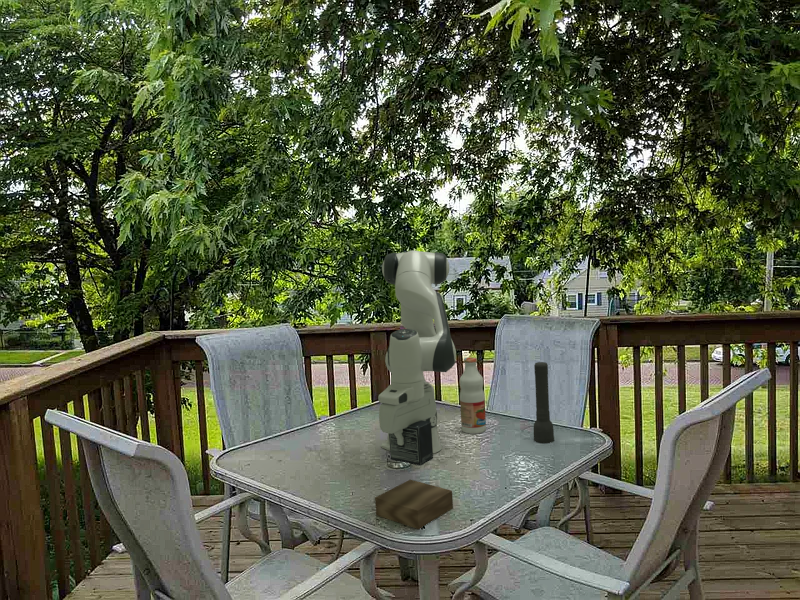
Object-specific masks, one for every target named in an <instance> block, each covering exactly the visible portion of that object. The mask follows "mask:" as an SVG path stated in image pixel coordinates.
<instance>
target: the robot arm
mask: <svg viewBox="0 0 800 600" xmlns="http://www.w3.org/2000/svg"><path fill="white" fill-rule="evenodd" d="M383 259H384V260H383V261H382V266H381V271H382V275H383V279H384V280H385V281H386V282H387V283H388V284H391V285H394V289H395V290H394V291H395V296H396V297H395V298H396V300H398V302H399V303H400V322H401V325H402V326H403V329H401V328H400V329H397V330H395V331H393V332H392V333H391V334H390V336H389V345H388V348H387V351H386V354H385V357H384V358H385V359H384V360H385V361H384V362H385V366H386V369H387V370H388V371H389V373H391V375H390V384H389V385H388V386H387V387H386V388H384V390H383V391H382V392H381V393H380V394H378V402H379V403H381V404H380V405H379V408H378V418H379V420H378V421H379V422H378V423H379V428H380V430H381V432H382V433H385V434H387V438H386V439H387V440H385V441H384V442H382V443H381V446H380V447H382V449H384V450H387V451H389V452H390V441H389V434H392V433H394V435H395V436H396V438H397V443H398V445H404V444H406V438H404V437H403V436H402V434H401V433H403V429H404V428H407V427H408V426H409V425H411V424H413V423H415V422H418V421H421V420H422V421H429V422H431V430H432V447H433V454H436V453H439V452H440V451H442V450H443V446H442V442H441V439H440V434H439V430H438V412H437V411H438V410H437V405H436V396H435V395H436V394H435V387H434V386H433V385H432V384H431V383H429V382H428V381H426V379H425V376H424V372H435V373H447V372H448V371H450V370H451V369H452V368H453V367H454V365H456V360H457V350H456V346H455V344H454V342H453V339H452V336H451V331H450V324H449V322H448V321H449V320H448V316H447V311H446V307H445V304H444V299H443V298H442V295H441V293H440V292H438V291H436V290H435V289H434V288H433V285H432V284H434V286H435V287H438V285H440V284H444V283H445V281H446V280H447V278H448V276H449V273H450V263H449V260H448V258H447V255H446V254H445V253H443V252H438V251H435V252H429V251H421V250H420V251H419V250H414V249H413V250H408V251H405V252H398V253H397V252H392V253H391V252H390V253H388V254H387V255H385V257H384V258H383Z"/></svg>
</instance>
